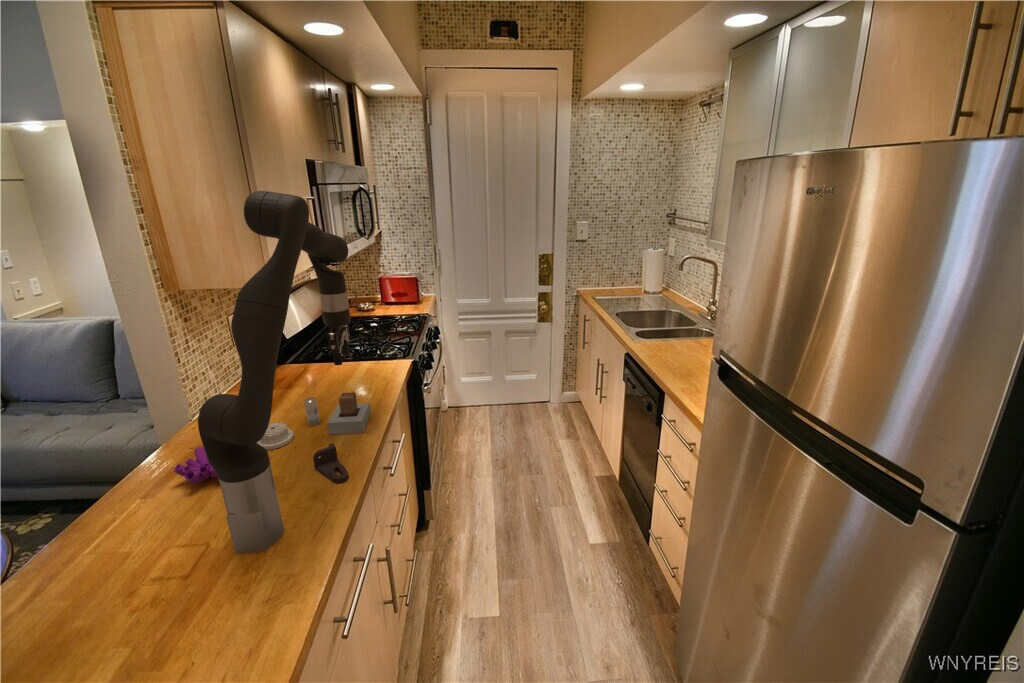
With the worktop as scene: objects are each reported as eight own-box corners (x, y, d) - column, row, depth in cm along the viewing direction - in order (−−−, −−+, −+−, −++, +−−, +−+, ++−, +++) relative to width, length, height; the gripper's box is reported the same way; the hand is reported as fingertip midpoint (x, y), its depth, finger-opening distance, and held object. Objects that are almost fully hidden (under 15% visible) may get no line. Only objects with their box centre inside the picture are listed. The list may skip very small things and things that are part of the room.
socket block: (363, 432, 137) (361, 421, 136) (329, 434, 136) (327, 422, 135) (370, 413, 148) (369, 403, 147) (339, 415, 147) (338, 404, 146)
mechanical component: (248, 447, 129) (276, 452, 127) (245, 434, 128) (273, 439, 125) (274, 430, 138) (301, 434, 136) (271, 418, 137) (298, 422, 134)
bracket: (327, 489, 112) (324, 472, 110) (313, 466, 121) (310, 450, 119) (350, 480, 115) (348, 464, 113) (335, 458, 124) (333, 443, 123)
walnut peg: (355, 426, 140) (352, 398, 137) (342, 427, 140) (338, 398, 137) (358, 420, 144) (355, 392, 141) (346, 421, 144) (342, 392, 140)
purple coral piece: (236, 469, 125) (251, 446, 122) (200, 505, 111) (216, 480, 108) (199, 448, 123) (213, 423, 120) (157, 482, 108) (172, 455, 106)
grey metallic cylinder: (318, 424, 141) (314, 402, 139) (306, 425, 141) (302, 402, 138) (321, 419, 145) (317, 397, 142) (309, 420, 144) (305, 397, 142)
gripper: (342, 313, 123) (349, 368, 129) (354, 301, 137) (360, 351, 142) (314, 314, 122) (322, 369, 128) (328, 302, 136) (335, 351, 141)
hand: (342, 359), depth 135 cm, fingers open, 8 cm apart
